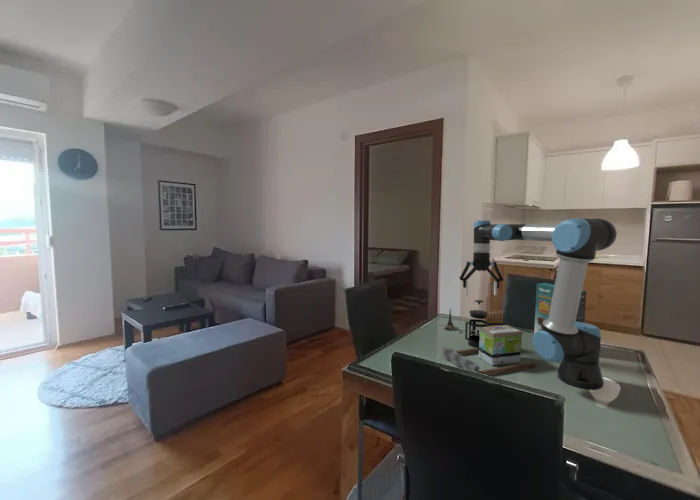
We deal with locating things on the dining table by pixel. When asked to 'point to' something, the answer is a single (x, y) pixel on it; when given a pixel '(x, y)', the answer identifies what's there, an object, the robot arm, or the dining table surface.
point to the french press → (475, 333)
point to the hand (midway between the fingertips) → (480, 294)
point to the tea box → (500, 344)
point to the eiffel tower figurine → (450, 325)
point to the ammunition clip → (494, 319)
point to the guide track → (465, 363)
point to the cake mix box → (544, 304)
